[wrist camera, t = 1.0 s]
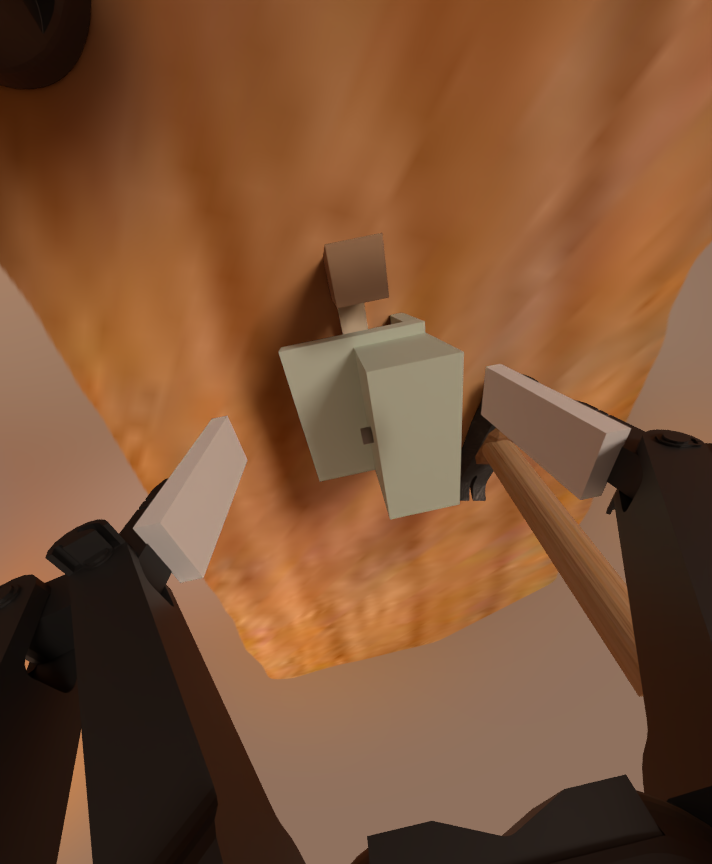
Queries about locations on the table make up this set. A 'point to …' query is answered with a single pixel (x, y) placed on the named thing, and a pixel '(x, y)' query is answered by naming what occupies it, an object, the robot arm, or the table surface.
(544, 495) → the hammer
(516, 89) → the table surface
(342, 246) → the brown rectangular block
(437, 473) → the plinth shelf
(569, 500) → the table surface
